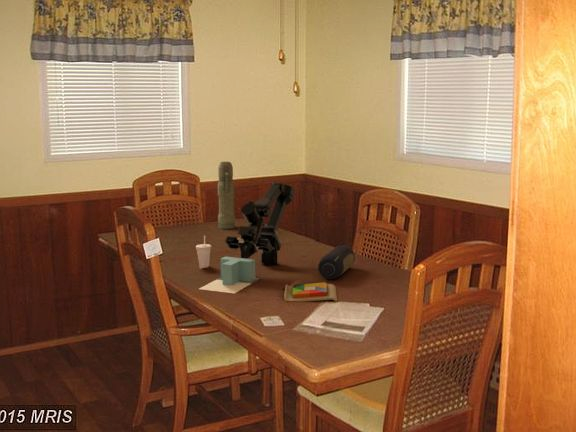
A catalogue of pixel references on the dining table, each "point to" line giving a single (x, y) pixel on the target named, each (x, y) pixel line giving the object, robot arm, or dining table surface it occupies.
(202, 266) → the smoothie
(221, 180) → the thermos
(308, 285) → the wooden puzzle
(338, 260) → the portable speaker
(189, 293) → the dining table surface
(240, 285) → the mat
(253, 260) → the t block
